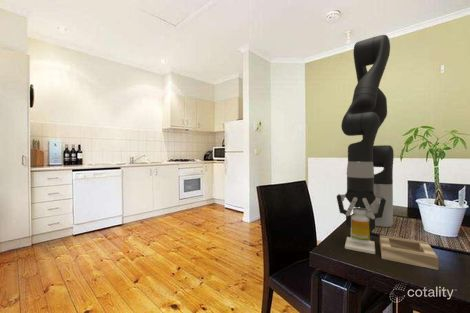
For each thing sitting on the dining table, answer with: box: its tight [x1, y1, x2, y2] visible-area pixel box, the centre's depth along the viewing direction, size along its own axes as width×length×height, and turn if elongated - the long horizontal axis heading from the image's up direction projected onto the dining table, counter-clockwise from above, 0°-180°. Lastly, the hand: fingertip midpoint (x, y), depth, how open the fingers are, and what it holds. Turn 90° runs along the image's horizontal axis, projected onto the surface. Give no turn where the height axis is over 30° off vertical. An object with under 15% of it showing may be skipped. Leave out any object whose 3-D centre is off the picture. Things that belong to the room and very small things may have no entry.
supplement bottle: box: [350, 207, 371, 242], centre depth 71 cm, size 5×5×10 cm
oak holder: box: [379, 234, 439, 271], centre depth 65 cm, size 12×12×3 cm
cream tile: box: [344, 236, 376, 255], centre depth 71 cm, size 9×8×1 cm
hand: (360, 228), depth 72 cm, fingers closed on supplement bottle, 5 cm apart
